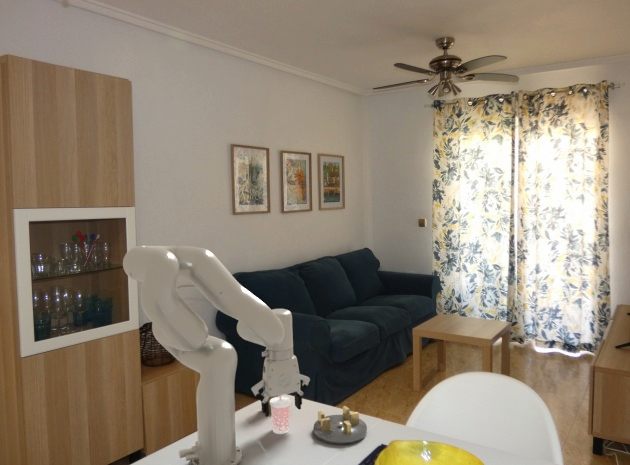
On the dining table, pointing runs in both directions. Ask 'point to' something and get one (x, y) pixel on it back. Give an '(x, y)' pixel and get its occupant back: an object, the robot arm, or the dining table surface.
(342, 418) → the gold studded metal disc
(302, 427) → the dining table surface
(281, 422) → the beverage cup
